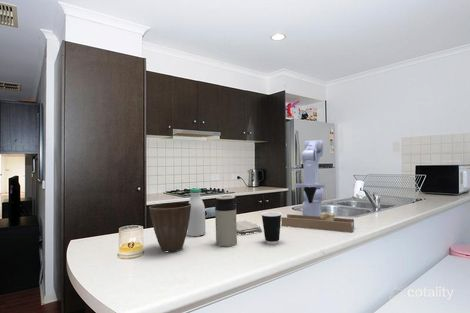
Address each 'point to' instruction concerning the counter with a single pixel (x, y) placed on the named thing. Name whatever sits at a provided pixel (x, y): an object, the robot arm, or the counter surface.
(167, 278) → the counter surface
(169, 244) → the plant pot
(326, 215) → the maple block
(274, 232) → the dixie cup
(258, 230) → the washcloth
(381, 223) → the counter surface
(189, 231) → the milk bottle
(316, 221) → the trap track
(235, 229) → the travel mug
